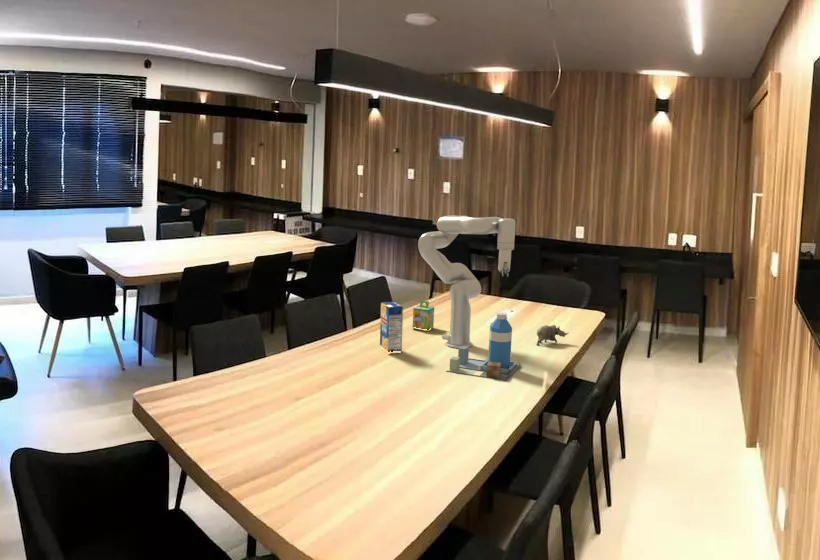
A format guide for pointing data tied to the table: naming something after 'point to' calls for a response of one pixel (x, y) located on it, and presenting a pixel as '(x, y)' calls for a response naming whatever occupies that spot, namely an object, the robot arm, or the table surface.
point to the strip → (458, 366)
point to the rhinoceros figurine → (549, 333)
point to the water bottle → (500, 341)
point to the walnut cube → (493, 369)
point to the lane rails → (486, 372)
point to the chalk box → (423, 316)
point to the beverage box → (391, 326)
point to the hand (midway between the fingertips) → (503, 283)
